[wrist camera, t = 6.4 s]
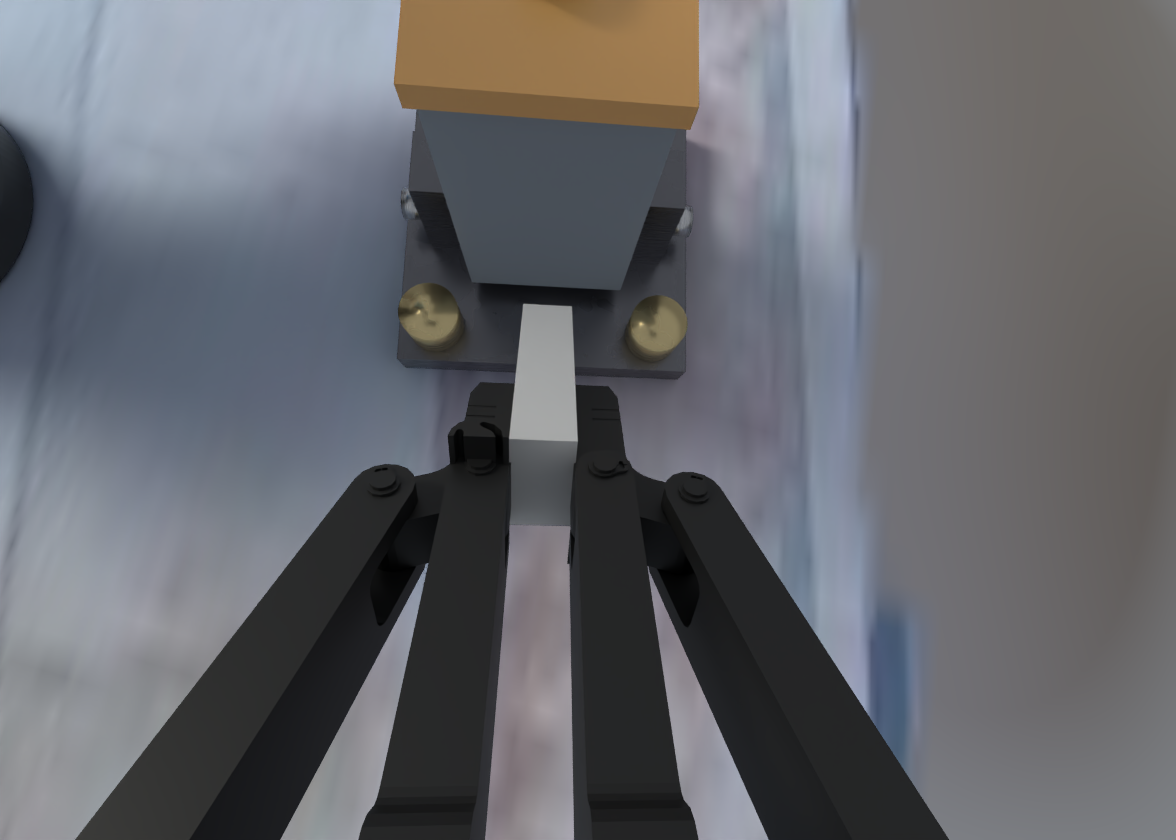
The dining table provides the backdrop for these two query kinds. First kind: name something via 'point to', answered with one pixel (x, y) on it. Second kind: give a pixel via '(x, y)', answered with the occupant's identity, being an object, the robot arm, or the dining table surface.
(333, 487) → the dining table surface
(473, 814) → the robot arm
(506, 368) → the leveling base
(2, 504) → the dining table surface
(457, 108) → the box
